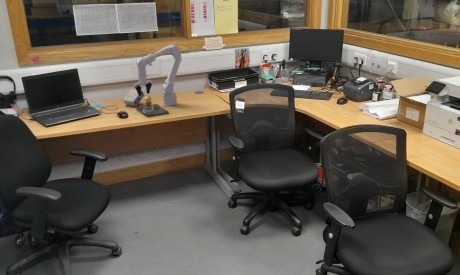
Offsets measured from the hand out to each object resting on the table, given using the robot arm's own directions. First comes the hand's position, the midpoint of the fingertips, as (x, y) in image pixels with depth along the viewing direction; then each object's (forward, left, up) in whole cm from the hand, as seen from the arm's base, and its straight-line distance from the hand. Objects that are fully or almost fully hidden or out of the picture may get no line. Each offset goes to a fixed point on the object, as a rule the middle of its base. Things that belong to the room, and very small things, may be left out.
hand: (144, 94), depth 287 cm
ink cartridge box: (+9, -8, -7) cm, 14 cm away
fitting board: (0, +13, -9) cm, 16 cm away
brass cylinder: (-3, -1, -9) cm, 10 cm away
